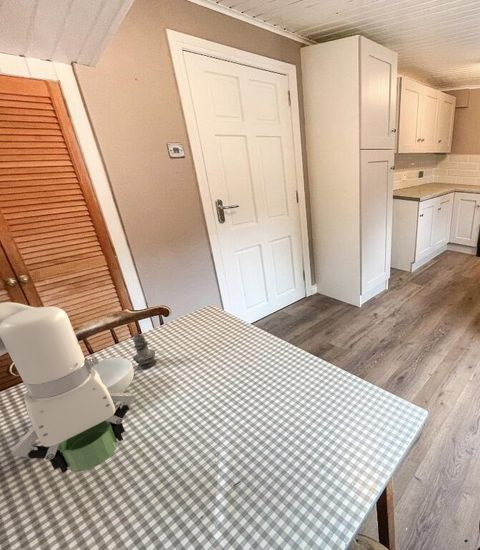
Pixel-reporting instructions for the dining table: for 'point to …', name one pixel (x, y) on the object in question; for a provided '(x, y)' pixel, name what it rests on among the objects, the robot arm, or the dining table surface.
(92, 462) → the green bowl
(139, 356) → the grey tall carved piece
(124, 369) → the cereal bowl
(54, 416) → the robot arm
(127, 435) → the dining table surface
